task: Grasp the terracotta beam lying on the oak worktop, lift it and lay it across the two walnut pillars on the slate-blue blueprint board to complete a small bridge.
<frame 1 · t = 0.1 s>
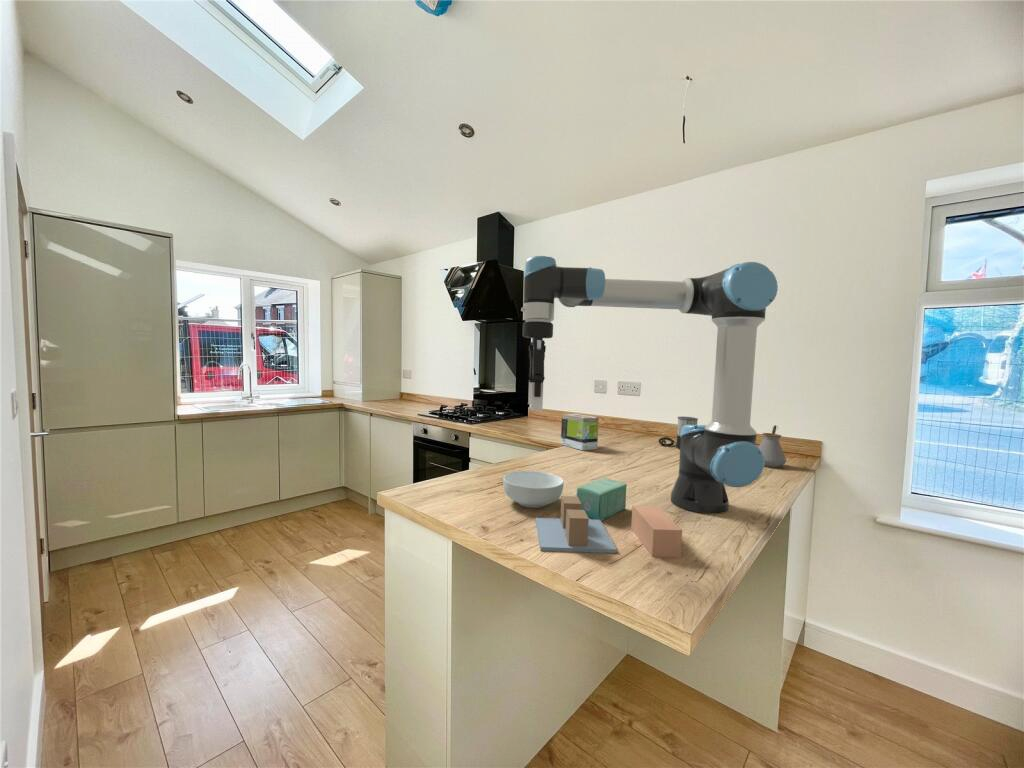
hand: (534, 407, 104), 28 cm above the countertop, fingers open, 13 cm apart
tea box: (578, 447, 194), on the countertop
box: (600, 512, 112), on the countertop
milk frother: (677, 447, 202), on the countertop
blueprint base: (572, 535, 95), on the countertop
beam: (654, 543, 94), on the countertop
coffee pot: (770, 463, 175), on the countertop
cereal bowl: (532, 503, 116), on the countertop
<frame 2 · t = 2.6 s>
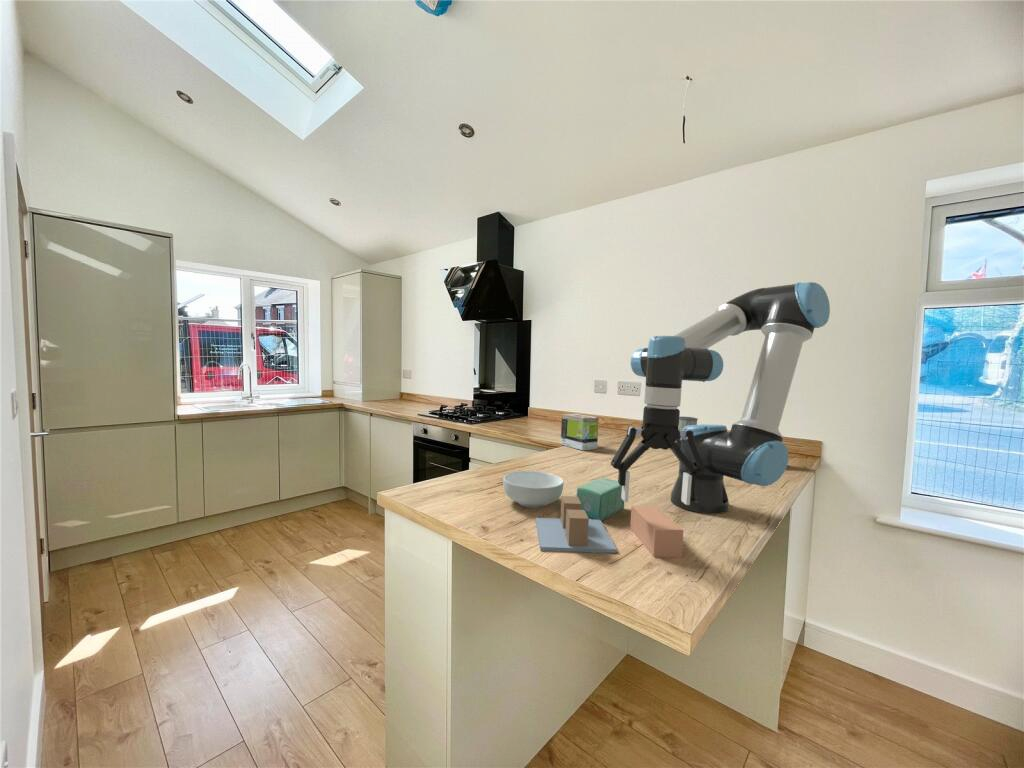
hand: (654, 501, 93), 9 cm above the countertop, fingers open, 13 cm apart
nothing on the countertop moved.
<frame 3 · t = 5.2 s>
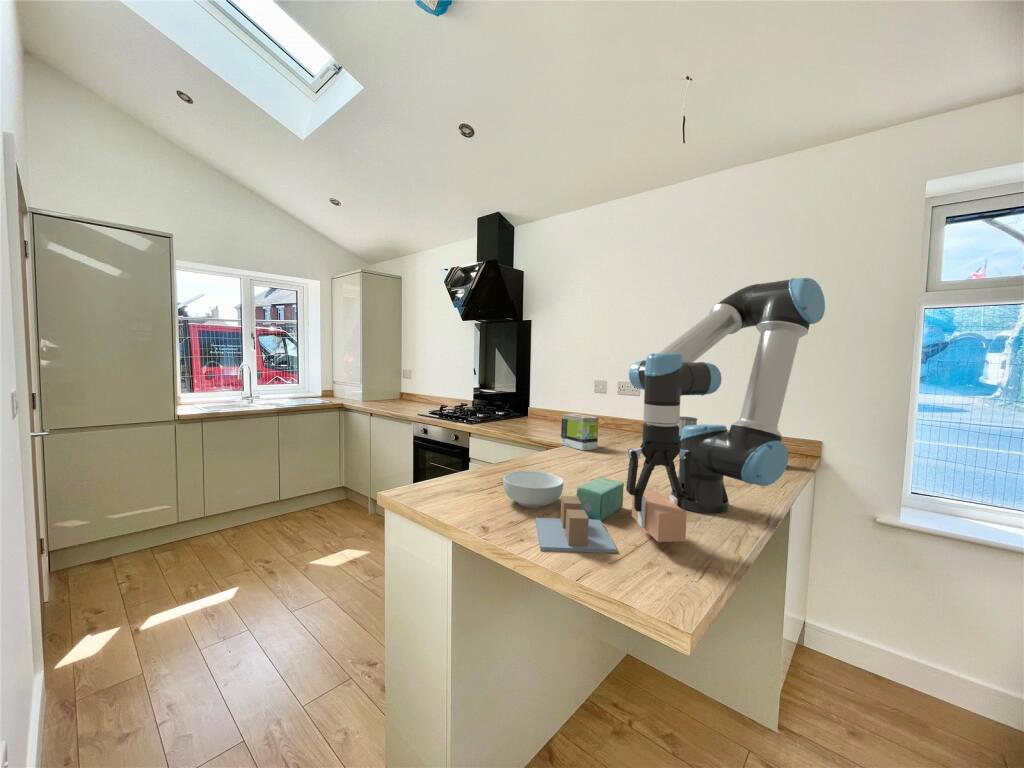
hand: (656, 524, 94), 4 cm above the countertop, fingers closed on beam, 6 cm apart
beam: (656, 527, 94), point 3 cm above the countertop, touching gripper
everything else where it was.
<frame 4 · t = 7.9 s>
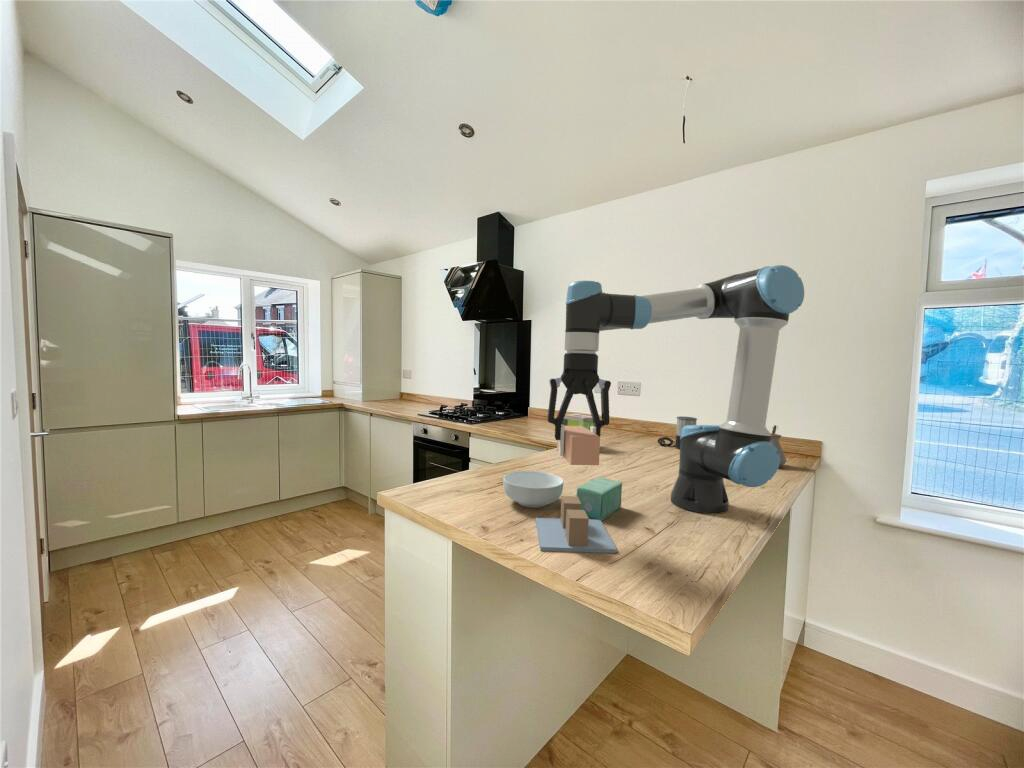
hand: (576, 454, 94), 19 cm above the countertop, fingers closed on beam, 6 cm apart
beam: (576, 457, 94), point 18 cm above the countertop, touching gripper
everything else where it was.
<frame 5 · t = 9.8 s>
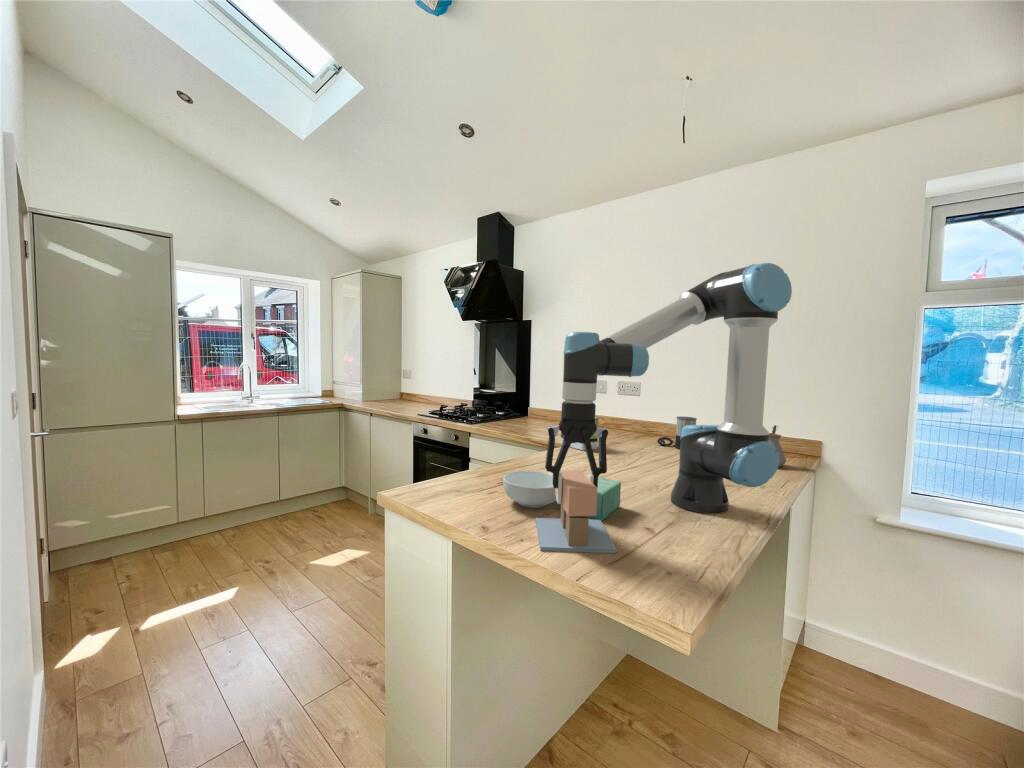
hand: (574, 502, 95), 8 cm above the countertop, fingers closed on beam, 6 cm apart
beam: (574, 504, 95), point 7 cm above the countertop, touching gripper
everything else where it was.
when the fingers open (7 cm above the countertop, at t = 10.6 s): beam stays where it is, resting on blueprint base.
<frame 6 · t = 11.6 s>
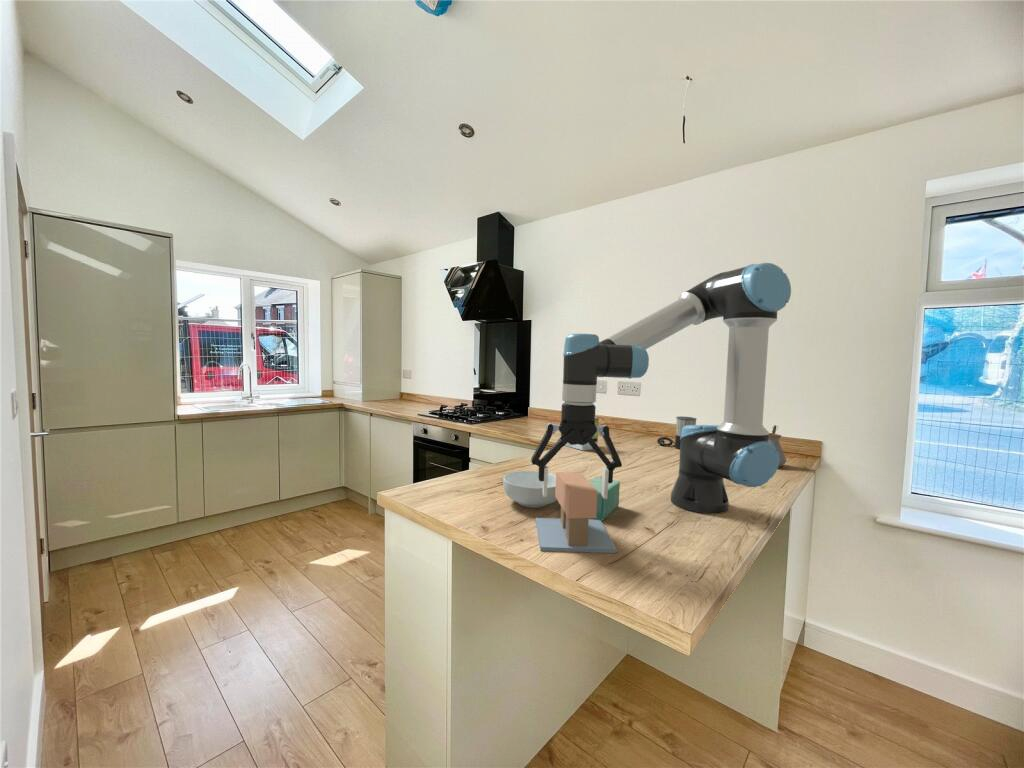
hand: (574, 496, 95), 9 cm above the countertop, fingers open, 13 cm apart
beam: (574, 506, 95), point 7 cm above the countertop, touching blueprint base
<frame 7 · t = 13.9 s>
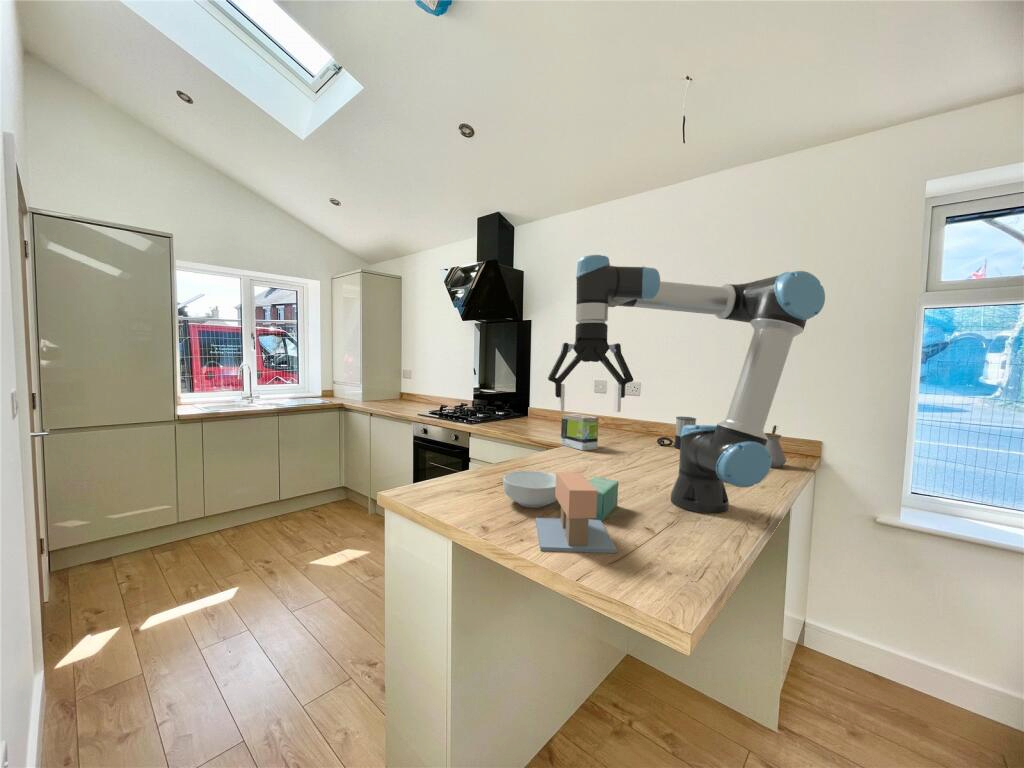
hand: (589, 411, 101), 28 cm above the countertop, fingers open, 13 cm apart
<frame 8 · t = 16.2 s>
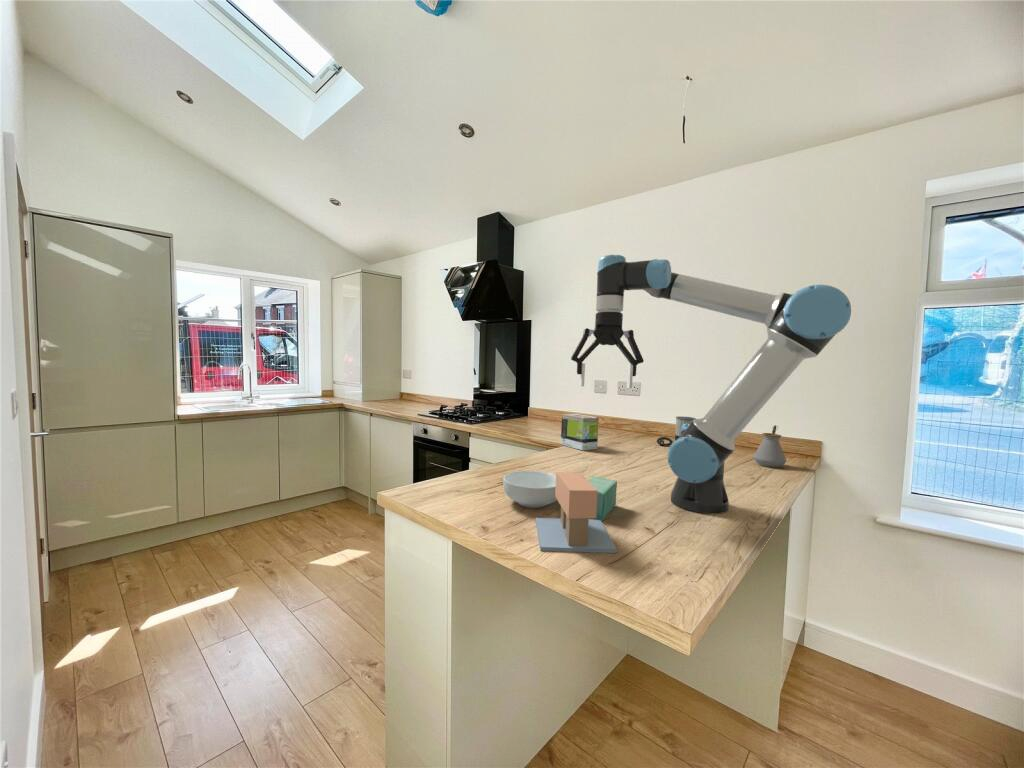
hand: (605, 387, 119), 33 cm above the countertop, fingers open, 13 cm apart
at the end: beam 0.0 cm off-centre on the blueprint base, point 6.8 cm above the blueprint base's base; beam tilted 0°; the gripper is holding nothing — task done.
